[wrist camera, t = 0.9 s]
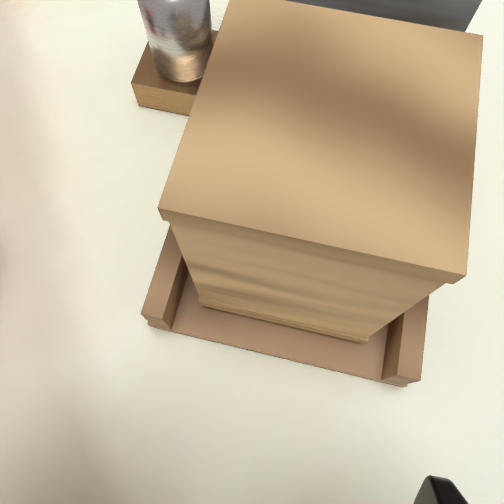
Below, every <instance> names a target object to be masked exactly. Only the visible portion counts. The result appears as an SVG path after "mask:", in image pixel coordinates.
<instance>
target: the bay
mask: <svg viewBox="0 0 504 504" xmlns="http://www.w3.org/2000/svg"><path fill="white" fill-rule="evenodd" d="M286 1H291V2H297V3H302V4H308V5H314V6H319V7H325V8H331V9H336V10H342V11H348V12H353V13H359V14H365V15H370V16H376V17H382V18H387V19H393V20H399V21H404V22H410V23H415V24H421V25H427V26H432V27H438V28H444V29H449V30H455V31H461V32H465V30H466V29H467V27H468V25H469V23H470V21H471V20H472V18H473V16H474V14H475V12H476V10H477V9H478V7H479V5H480V3H481V1H482V0H286ZM198 300H199V294H198V292H197V289H196V287H195V284H194V282H193V279H192V277H191V275H190V272H189V270H188V267H187V265H186V262H185V260H184V257H183V255H182V253H181V250H180V248H179V245H178V243H177V240H176V238H175V235H174V233H173V231H172V228H171V226H170V227H169V230H168V233H167V236H166V239H165V242H164V245H163V248H162V251H161V254H160V257H159V260H158V263H157V266H156V269H155V272H154V275H153V278H152V281H151V284H150V287H149V290H148V293H147V296H146V299H145V302H144V305H143V308H142V311H141V315H143V316H144V317H145V318H146V319H147V320H148V323H147V324H148V325H149V326H151V327H156V328H160V329H164V330H168V331H172V332H176V333H180V334H185V335H189V336H193V337H197V338H201V339H205V340H209V341H214V342H218V343H222V344H226V345H230V346H234V347H239V348H243V349H247V350H251V351H255V352H259V353H263V354H268V355H272V356H276V357H280V358H284V359H288V360H292V361H297V362H301V363H305V364H309V365H313V366H317V367H321V368H326V369H330V370H334V371H338V372H342V373H346V374H350V375H355V376H359V377H363V378H367V379H371V380H375V381H380V382H384V383H388V384H392V385H396V386H400V387H406V386H407V384H408V383H413V382H417V381H421V371H422V361H423V351H424V341H425V331H426V321H427V311H428V301H429V295H428V296H426V297H425V298H423V299H422V300H421V301H419V302H418V303H416V304H415V305H414V306H412V307H411V308H409V309H408V310H406V311H405V312H404V313H402V314H401V315H399V316H398V317H396V318H395V319H394V320H392V321H391V322H389V323H388V324H387V325H385V326H384V327H382V328H381V329H379V330H378V331H377V332H375V333H374V334H372V335H371V336H370V337H369V341H368V342H366V343H365V344H363V343H359V342H355V341H350V340H346V339H342V338H338V337H333V336H329V335H325V334H321V333H316V332H312V331H308V330H304V329H299V328H295V327H291V326H287V325H282V324H278V323H274V322H270V321H265V320H261V319H257V318H252V317H248V316H244V315H240V314H235V313H231V312H227V311H223V310H218V309H214V308H210V307H206V306H201V305H200V304H199V302H198Z"/></svg>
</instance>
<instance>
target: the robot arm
mask: <svg viewBox="0 0 504 504" xmlns="http://www.w3.org/2000/svg"><path fill="white" fill-rule="evenodd" d="M414 504H468V502H467V501H466V500H465V498H464V497H463V496H462V494H461V493H460V492H459V490H458V489H457V488H456V486H455V485H454V484H453V482H451V481H450V480H449V479H446V478H442V477H437V476H431V475H429V476H427V477H426V478H425V479H424V481H423V484H422V486H421V488H420V490H419V492H418V494H417V496H416V498H415V501H414Z"/></svg>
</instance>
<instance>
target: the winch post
mask: <svg viewBox="0 0 504 504" xmlns="http://www.w3.org/2000/svg"><path fill="white" fill-rule="evenodd" d="M138 4H139V8H140V12H141V15H142V19H143V23H144V26H145V30H146V34H147V38H148V43H147V45H146V48H145V50H144V52H143V55H142V57H141V60H140V62H139V64H138V67H137V69H136V72H135V74H134V76H133V79H132V81H131V85H132V88H133V90H134V93H135V96H136V99H137V102H138V105H139V106H143V107H148V108H153V109H158V110H163V111H168V112H173V113H178V114H183V115H188V116H189V115H190V112H191V110H192V107H193V104H194V101H195V98H196V95H197V92H198V89H199V87H200V84H201V81H202V78H203V75H204V72H205V69H206V66H207V64H208V61H209V58H210V55H211V52H212V49H213V46H214V43H215V40H216V38H217V35H218V32H219V31H214V30H212V24H211V14H210V4H209V0H138Z"/></svg>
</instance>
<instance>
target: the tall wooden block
mask: <svg viewBox="0 0 504 504" xmlns="http://www.w3.org/2000/svg"><path fill="white" fill-rule="evenodd" d="M482 47H483V35H478V34H472V33H466V32H461V31H455V30H449V29H444V28H438V27H432V26H427V25H421V24H415V23H410V22H404V21H399V20H393V19H387V18H382V17H376V16H370V15H365V14H359V13H353V12H348V11H342V10H336V9H331V8H325V7H319V6H314V5H308V4H302V3H297V2H291V1H286V0H229V3H228V6H227V9H226V12H225V15H224V17H223V20H222V23H221V26H220V29H219V32H218V35H217V38H216V40H215V43H214V46H213V49H212V52H211V55H210V58H209V61H208V64H207V66H206V69H205V72H204V75H203V78H202V81H201V84H200V87H199V89H198V92H197V95H196V98H195V101H194V104H193V107H192V110H191V112H190V115H189V118H188V121H187V124H186V127H185V130H184V133H183V136H182V138H181V141H180V144H179V147H178V150H177V153H176V156H175V159H174V161H173V164H172V167H171V170H170V173H169V176H168V179H167V182H166V184H165V187H164V190H163V193H162V196H161V199H160V202H159V205H158V210H159V212H160V215H161V217H162V219H163V220H164V221H169V223H170V226H171V228H172V231H173V233H174V235H175V238H176V240H177V243H178V245H179V248H180V250H181V253H182V255H183V257H184V260H185V262H186V265H187V267H188V270H189V272H190V275H191V277H192V279H193V282H194V284H195V287H196V289H197V292H198V294H199V300H198V302H199V304H200V305H201V306H206V307H210V308H214V309H218V310H223V311H227V312H231V313H235V314H240V315H244V316H248V317H252V318H257V319H261V320H265V321H270V322H274V323H278V324H282V325H287V326H291V327H295V328H299V329H304V330H308V331H312V332H316V333H321V334H325V335H329V336H333V337H338V338H342V339H346V340H350V341H355V342H359V343H363V344H365V343H366V342H368V341H369V337H370V336H371V335H372V334H374V333H375V332H377V331H378V330H379V329H381V328H382V327H384V326H385V325H387V324H388V323H389V322H391V321H392V320H394V319H395V318H396V317H398V316H399V315H401V314H402V313H404V312H405V311H406V310H408V309H409V308H411V307H412V306H414V305H415V304H416V303H418V302H419V301H421V300H422V299H423V298H425V297H426V296H428V295H429V294H431V293H432V292H433V291H435V290H436V289H438V288H439V287H441V286H442V285H443V284H445V283H449V284H454V283H456V282H457V281H459V280H460V279H462V278H463V277H465V276H466V274H467V260H468V246H469V232H470V217H471V203H472V189H473V175H474V160H475V146H476V132H477V118H478V103H479V89H480V75H481V61H482Z"/></svg>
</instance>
